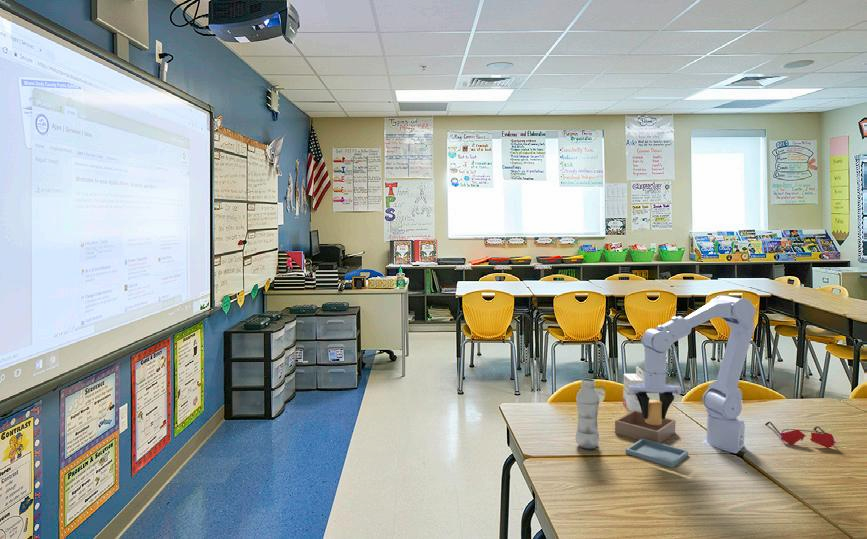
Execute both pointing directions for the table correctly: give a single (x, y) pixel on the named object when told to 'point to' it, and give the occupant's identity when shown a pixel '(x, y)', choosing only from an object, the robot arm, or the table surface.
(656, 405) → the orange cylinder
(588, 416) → the plastic bottle
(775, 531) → the table surface
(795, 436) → the glasses
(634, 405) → the ink cartridge box
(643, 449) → the tray
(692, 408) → the table surface
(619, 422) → the brown storage bin
